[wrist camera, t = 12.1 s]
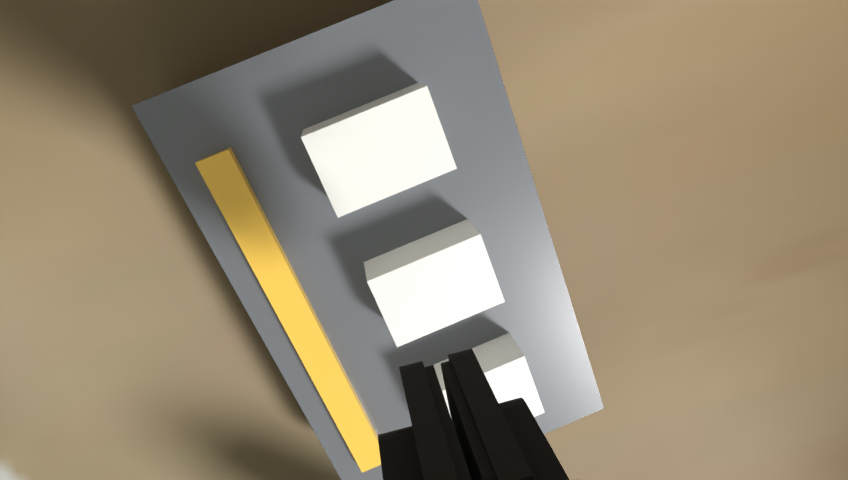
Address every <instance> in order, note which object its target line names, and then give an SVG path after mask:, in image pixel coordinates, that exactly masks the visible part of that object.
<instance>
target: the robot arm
mask: <svg viewBox="0 0 848 480" xmlns="http://www.w3.org/2000/svg"><path fill="white" fill-rule="evenodd" d="M448 359H449V361H447V362H443V363H441V370H442V375H443V380H444V385H445V390H446V395H447V400H448V405H449V410H450V413H449V410H448V407H447V404H446V401H445V398H444V395H443V392H442V389H441V386H440V383H439V380H438V377H437V374H436V371H435V368H434V366H433V365H431V366H427V367H424V364H423V361H420V362H416V363H412V364H408V365H404V366H400V367H399V369H400V374H401V378H402V383H403V387H404V392H405V396H406V401H407V405H408V410H409V414H410V419H411V423H412V426H410V427H406V428H402V429H398V430H394V431H391V432H387V433H383V434H379V435H378V443H379V451H380V459H381V467H382V475H383V480H569V478H568V477H567V475H566V473H565V471H564V469H563V468H562V466H561V464H560V462H559V461H558V459H557V457H556V455H555V453H554V452H553V450H552V448H551V446H550V445H549V443H548V441H547V439H546V437H545V436H544V434H543V432H542V430H541V429H540V427H539V425H538V423H537V421H536V420H535V418H534V416H533V414H532V413H531V411H530V409H529V407H528V405H527V404H526V402H525V401H524V399H523V398H517V399H513V400H509V401H506V402H502V403H498V401H497V399H496V397H495V395H494V393H493V391H492V389H491V387H490V385H489V383H488V381H487V379H486V376H485V374H484V372H483V370H482V368H481V366H480V364H479V362H478V360H477V358H476V356H475V354H474V352H473V350H472V349H468V350H464V351H460V352H456V353H452V354H448ZM450 415H451V416H450Z"/></svg>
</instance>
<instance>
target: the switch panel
mask: <svg viewBox="0 0 848 480" xmlns="http://www.w3.org/2000/svg"><path fill="white" fill-rule="evenodd" d="M132 108H133V110H134V112H135V114H136V115H137V117H138V119H139V121H140V122H141V124H142V126H143V128H144V130H145V131H146V133H147V135H148V137H149V138H150V140H151V142H152V144H153V146H154V147H155V149H156V151H157V153H158V154H159V156H160V158H161V160H162V162H163V163H164V165H165V167H166V169H167V170H168V172H169V174H170V176H171V178H172V179H173V181H174V183H175V185H176V187H177V188H178V190H179V192H180V194H181V195H182V197H183V199H184V201H185V203H186V204H187V206H188V208H189V210H190V211H191V213H192V215H193V217H194V219H195V220H196V222H197V224H198V226H199V227H200V229H201V231H202V233H203V235H204V236H205V238H206V240H207V242H208V243H209V245H210V247H211V249H212V251H213V252H214V254H215V256H216V258H217V259H218V261H219V263H220V265H221V267H222V268H223V270H224V272H225V274H226V276H227V277H228V279H229V281H230V283H231V284H232V286H233V288H234V290H235V292H236V293H237V295H238V297H239V299H240V300H241V302H242V304H243V306H244V308H245V309H246V311H247V313H248V315H249V316H250V318H251V320H252V322H253V324H254V325H255V327H256V329H257V331H258V332H259V334H260V336H261V338H262V340H263V341H264V343H265V345H266V347H267V349H268V350H269V352H270V354H271V356H272V357H273V359H274V361H275V363H276V365H277V366H278V368H279V370H280V372H281V373H282V375H283V377H284V379H285V381H286V382H287V384H288V386H289V388H290V389H291V391H292V393H293V395H294V397H295V398H296V400H297V402H298V404H299V405H300V407H301V409H302V411H303V413H304V414H305V416H306V418H307V420H308V421H309V423H310V425H311V427H312V429H313V430H314V432H315V434H316V436H317V438H318V439H319V441H320V443H321V445H322V446H323V448H324V450H325V452H326V454H327V455H328V457H329V459H330V461H331V462H332V464H333V466H334V468H335V470H336V471H337V473H338V475H339V477H340V478H341V480H383V475H382V467H381V459H380V451H379V443H378V435H379V434H383V433H387V432H391V431H394V430H398V429H402V428H406V427H410V426H412V423H411V419H410V414H409V410H408V405H407V401H406V396H405V392H404V387H403V383H402V378H401V374H400V369H399V367H400V366H404V365H408V364H412V363H416V362H420V361H423V364H424V367H427V366H431V365H433V366H434V368H435V371H436V374H437V377H438V380H439V383H440V386H441V389H442V392H443V395H444V398H445V401H446V404H447V407H448V410H449V405H448V400H447V395H446V390H445V385H444V380H443V375H442V370H441V363H443V362H447V361H449V359H448V354H452V353H456V352H460V351H464V350H468V349H472V350H473V352H474V354H475V356H476V358H477V360H478V362H479V364H480V366H481V368H482V370H483V372H484V374H485V376H486V379H487V381H488V383H489V385H490V387H491V389H492V391H493V393H494V395H495V397H496V399H497V401H498V403H502V402H506V401H509V400H513V399H517V398H523V399H524V401H525V402H526V404H527V405H528V407H529V409H530V411H531V413H532V414H533V416H534V418H535V420H536V421H537V423H538V425H539V427H540V429H541V430H542V432H543V434H545V433H548V432H550V431H552V430H554V429H557V428H559V427H561V426H564V425H566V424H568V423H571V422H573V421H575V420H578V419H580V418H582V417H585V416H587V415H589V414H592V413H594V412H596V411H599V410H601V409H603V408H604V407H603V403H602V400H601V397H600V394H599V390H598V387H597V384H596V381H595V378H594V374H593V371H592V368H591V365H590V361H589V358H588V355H587V352H586V348H585V345H584V342H583V339H582V336H581V332H580V329H579V326H578V323H577V319H576V316H575V313H574V310H573V306H572V303H571V300H570V297H569V294H568V290H567V287H566V284H565V281H564V277H563V274H562V271H561V268H560V265H559V261H558V258H557V255H556V252H555V248H554V245H553V242H552V239H551V235H550V232H549V229H548V226H547V223H546V219H545V216H544V213H543V210H542V206H541V203H540V200H539V197H538V193H537V190H536V187H535V184H534V181H533V177H532V174H531V171H530V168H529V164H528V161H527V158H526V155H525V151H524V148H523V145H522V142H521V139H520V135H519V132H518V129H517V126H516V122H515V119H514V116H513V113H512V110H511V106H510V103H509V100H508V97H507V93H506V90H505V87H504V84H503V80H502V77H501V74H500V71H499V68H498V64H497V61H496V58H495V55H494V51H493V48H492V45H491V42H490V38H489V35H488V32H487V29H486V26H485V22H484V19H483V16H482V13H481V9H480V6H479V3H478V0H394V1H391V2H389V3H386V4H384V5H381V6H379V7H376V8H374V9H371V10H369V11H366V12H364V13H361V14H359V15H356V16H354V17H351V18H349V19H346V20H344V21H341V22H339V23H336V24H334V25H331V26H329V27H326V28H324V29H321V30H319V31H316V32H314V33H311V34H309V35H306V36H304V37H301V38H299V39H296V40H294V41H291V42H289V43H286V44H284V45H281V46H279V47H276V48H274V49H271V50H269V51H266V52H264V53H262V54H259V55H257V56H254V57H252V58H249V59H247V60H244V61H242V62H239V63H237V64H234V65H232V66H229V67H227V68H224V69H222V70H219V71H217V72H214V73H212V74H209V75H207V76H204V77H202V78H199V79H197V80H194V81H192V82H189V83H187V84H184V85H182V86H179V87H177V88H174V89H172V90H169V91H167V92H164V93H162V94H159V95H157V96H154V97H152V98H149V99H147V100H144V101H142V102H139V103H137V104H134V105H132ZM449 413H450V410H449ZM450 416H451V415H450Z"/></svg>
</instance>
